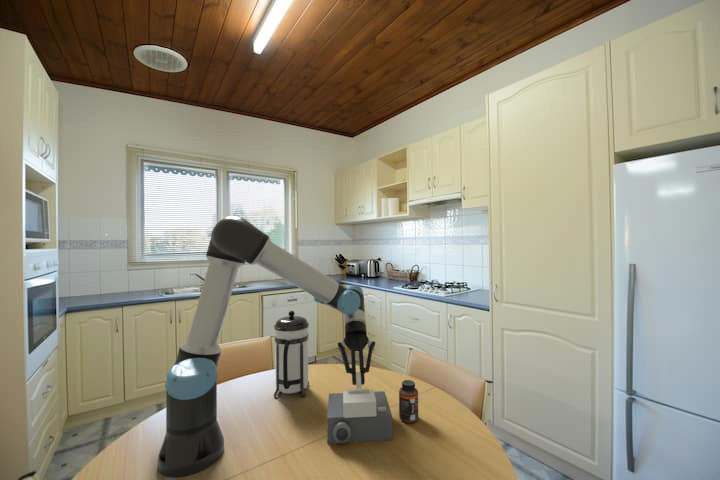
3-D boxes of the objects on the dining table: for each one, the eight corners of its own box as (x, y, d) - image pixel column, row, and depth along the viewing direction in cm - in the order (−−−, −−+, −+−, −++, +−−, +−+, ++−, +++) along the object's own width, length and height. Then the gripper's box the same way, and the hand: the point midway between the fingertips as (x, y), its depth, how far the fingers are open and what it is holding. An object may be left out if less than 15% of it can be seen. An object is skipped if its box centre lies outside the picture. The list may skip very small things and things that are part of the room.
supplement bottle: (418, 425, 94) (418, 387, 94) (398, 423, 95) (398, 386, 95) (418, 414, 100) (417, 378, 100) (399, 413, 101) (399, 377, 101)
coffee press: (261, 391, 117) (261, 311, 117) (299, 378, 127) (298, 305, 128) (284, 409, 104) (283, 319, 104) (323, 393, 115) (323, 311, 115)
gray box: (327, 448, 83) (326, 420, 84) (329, 415, 100) (328, 391, 100) (393, 445, 85) (393, 417, 85) (384, 412, 101) (384, 389, 101)
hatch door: (343, 417, 85) (343, 400, 85) (343, 404, 92) (343, 388, 92) (376, 416, 85) (376, 399, 86) (373, 403, 92) (373, 387, 92)
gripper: (372, 330, 113) (379, 399, 96) (336, 331, 112) (337, 401, 95) (374, 319, 108) (381, 389, 91) (336, 320, 107) (337, 391, 90)
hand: (359, 395), depth 93 cm, fingers closed
